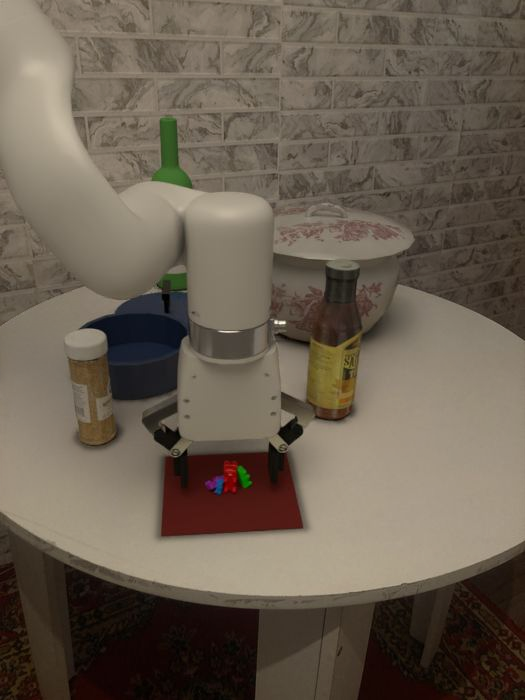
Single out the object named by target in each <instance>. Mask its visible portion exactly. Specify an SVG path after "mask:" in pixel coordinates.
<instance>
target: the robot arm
mask: <svg viewBox="0 0 525 700" xmlns="http://www.w3.org/2000/svg"><path fill="white" fill-rule="evenodd" d="M76 73H77V60H76V56H75V54H74V52H73V50H72V48H71V47H70V45H69V44H68V43H67V41H66V40H65V38H64V37H63V36H62V35H61V33H60V32H59V30H57V28H56V26H55V24H53V22H52V21H51V20H50V19H49V17H48V15H46V14H45V12H44V11H43V9H42V8H41V6H40V5H39V4H38V3H37V2H36V0H0V169H1V173H2V174H3V177H4V180H5V183H6V186H7V189H8V190H9V193H10V196H11V198H12V200H13V202H14V203H15V206H16V207H17V209H18V211H19V212H20V214H21V215H22V217H23V219H24V220H25V222H26V223H27V225H28V226H29V227H30V228H31V229H32V230H33V232H34V233H35V234H36V236H37V237H38V238H39V239H40V240H41V242H42V243H44V246H46V247H47V249H48V250H49V251H50V252H51V254H52V255H53V256H54V257H55V258H56V260H58V261H59V263H60V264H61V265H62V266H63V267H64V268H65V269H66V270H67V271H68V273H70V274H71V276H73V277H74V278H75V279H76V280H77V281H78V282H79V283H81V284H82V285H83V286H84V287H86V288H87V289H89V290H91V291H92V292H94V293H95V294H97V295H99V296H101V297H104V298H107V299H112V300H117V301H127V300H129V299H132V298H136V297H139V296H141V295H145V294H147V293H148V292H149V291H150V290H152V289H153V288H154V287H155V286H156V285H157V283H158V282H159V281H160V280H161V279H162V277H163V276H164V275H165V274H166V273H167V272H168V271H169V270H170V269H171V268H173V267H175V266H178V265H184V266H185V267H186V271H187V288H186V293H187V302H188V328H189V335H188V336H186V337H184V338H183V339H182V342H181V347H180V352H179V360H178V373H177V388H176V390H177V391H176V394H175V395H173V396H170V397H168V398H167V399H165V400H162V401H161V402H159V403H156V404H155V405H153V406H151V407H149V408H146V409H145V410H144V411H143V412H142V413H141V424H142V425H143V426H144V428H145V429H146V430H147V431H148V433H149V434H150V435H152V437H153V440H154V441H155V442H156V443H157V444H158V445H161V446H162V447H163V448H164V449H165V450H167V451H168V452H169V456H172V457H173V464H174V476H181V488H186V486H188V455H189V454H188V448H189V447H190V446H191V445H192V443H193V442H215V441H216V442H217V441H219V442H220V441H241V440H259V439H266V440H267V441H268V447H267V452H268V470H269V476H270V482H272V483H273V484H274V483H278V471H284V457H285V452H288V451H289V449H290V446H291V445H292V444H293V443H294V442H295V441H297V440H298V439H299V438H301V436H303V434H304V431H305V429H307V428H308V426H309V425H310V423H311V422H312V421H313V419H314V418H315V417H316V416H315V413H314V410H313V407H312V406H311V405H310V404H307V403H306V402H305V401H303V400H301V399H299V398H298V397H297V398H296V397H295V396H292V395H290V394H288V393H287V392H284V391H282V382H281V381H282V380H281V372H280V371H281V370H280V360H279V359H280V358H279V350H278V345H277V344H278V343H277V340H276V337H275V335H279V334H280V333H285V332H286V319H278V318H277V317H273V314H271V296H272V272H273V248H274V213H273V207H272V206H271V204H270V203H269V201H267V200H266V199H264V197H261V196H259V195H256V194H253V193H249V192H242V191H213V192H207V191H203V190H198V189H194V188H193V189H190V188H186V187H182V186H178V185H174V184H170V183H165V182H159V181H151V180H148V181H141V182H138V183H135V184H133V185H132V186H130V187H128V188H126V189H125V190H123V191H122V192H120V193H117V191H115V189H114V188H113V187H112V185H111V184H110V183H109V182H108V179H106V177H105V176H104V174H103V173H102V172H101V170H100V169H99V167H98V166H97V165H96V163H95V162H94V160H93V159H92V157H91V155H90V154H89V151H88V150H87V149H86V147H85V144H84V142H83V141H82V138H81V136H80V134H79V131H78V128H77V126H76V121H75V118H74V113H73V105H72V104H73V103H72V98H73V88H74V83H75V78H76ZM282 411H284V412H287V413H289V414H291V415H293V416H294V418H292V419H290V420H289V421H288V422H287V423H286V424H284V425H283V426H282ZM173 415H177V427H175V429H174V430H173V429H171V428H170V427H169V426H168V425H166V424H165V423H163V422H162V421H164V420H165V419H168V418H169V417H172V416H173Z"/></svg>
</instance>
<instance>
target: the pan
mask: <svg viewBox="0 0 525 700" xmlns="http://www.w3.org/2000/svg"><path fill="white" fill-rule="evenodd" d="M80 329H97V330H100V331H102V332H104V333H105V334H106V337H107V345H108V350H107V361H108V369H109V376H110V383H111V391H112V400H113V399H114V400H141V399H149V398H152V397H156V396H161V395H164V394H167V393H169V392H172V391H174V390H175V389H177V373H178V360H179V352H180V347H181V342H182V339H183V338H184V337H186V336H188V335H189V328H188V324H187V323H186V322H185V321H184V320H182V319H179V318H177V317H175V316H172V315H170V314H166V313H159V312H153V311H126V312H121V313H115V312H114V313H111V314H106V315H103V316H100V317H97V318H95V319H92V320H89V321H87V322H85V323H84V324H83V325H82V326H80V327H79V328H78V329H77V330H80Z"/></svg>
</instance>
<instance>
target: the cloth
mask: <svg viewBox="0 0 525 700" xmlns="http://www.w3.org/2000/svg"><path fill="white" fill-rule="evenodd" d="M287 452H288V451H287ZM287 452H285V457H284V471H278V483H274V484H273V483H272V482H270V476H269V470H268V451H256V452H236V453H234V452H233V453H232V452H231V453H212V454H192V455H189V454H188V486H186V488H181V476H174V464H173V457H172V456H171V455H167V456H165V459H164V474H163V475H164V476H163V492H162V494H163V496H162V511H161V512H162V513H161V526H160V527H161V529H160V536H161V537H172V536H175V537H177V536H191V535H192V536H193V535H209V534H224V533H241V532H242V533H243V532H260V531H274V530H275V531H277V530H291V529H293V530H294V529H304V524H303V520H302V515H301V509H300V506H299V501H298V497H297V492H296V488H295V484H294V480H293V474H292V469H291V466H290V462H289V457H288V453H287ZM225 461H229V462H230V464H231V463H232V462H233V461H236V462H237V464H238V465H237V467H238V466H242V467H243V469H245V470H246V471H247V472H246V475H247V474H249V475H250V477H249V480H248V481H251V482H252V484H251V485H250V486H248V487H247V488H243V486H242V485H241V484H240V481H239V478H238V476H237V491H236V493H232V491H228V492H227V493H224V491H223V490H224V484H223V489H222V493H221V494H219V495H218V493H215V490H216V488H214V489H212V490H209V491H208V490H207V488H206V485H205V482H208V481H209V480H210V481H211V482H212V481H213V478H214V477H216V476H222V475H224V462H225Z"/></svg>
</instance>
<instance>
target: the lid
mask: <svg viewBox="0 0 525 700" xmlns="http://www.w3.org/2000/svg"><path fill="white" fill-rule="evenodd" d="M126 311H153V312H159V313H166V314H170V315H172V316H175V317H177V318H179V319H182V320H184V321H185V322H186V323H187V324H188V302H187V292H184V291H172V290H171V280H163V286H162V288H161V291H158V292H151V293H145V294H143V295H141V296H139V297H136V298H132V299H128V300H125V301H124V302H122V303H121V304H120V305H118V307H116V309H115V310H114V314H115V313H121V312H126Z"/></svg>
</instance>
